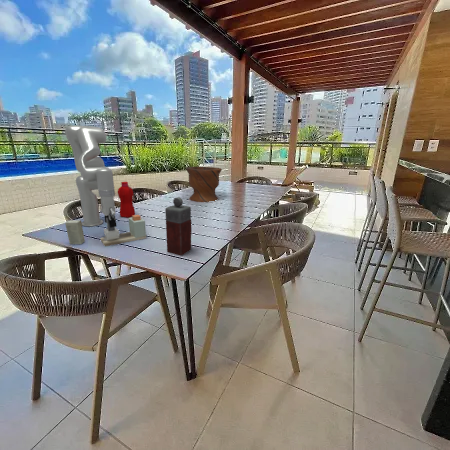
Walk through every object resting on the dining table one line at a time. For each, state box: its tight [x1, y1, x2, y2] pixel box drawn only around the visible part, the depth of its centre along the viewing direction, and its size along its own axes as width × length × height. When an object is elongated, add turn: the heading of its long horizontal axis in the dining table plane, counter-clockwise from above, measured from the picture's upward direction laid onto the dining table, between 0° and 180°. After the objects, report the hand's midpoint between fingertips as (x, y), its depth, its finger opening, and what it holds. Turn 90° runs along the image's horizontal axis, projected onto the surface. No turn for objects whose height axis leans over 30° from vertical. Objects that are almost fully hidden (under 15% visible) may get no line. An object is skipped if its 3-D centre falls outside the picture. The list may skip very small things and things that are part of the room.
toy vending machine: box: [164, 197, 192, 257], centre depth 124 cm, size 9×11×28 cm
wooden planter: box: [185, 166, 223, 203], centre depth 239 cm, size 34×35×29 cm
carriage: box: [103, 217, 120, 240], centre depth 134 cm, size 7×6×12 cm
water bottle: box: [117, 181, 136, 219], centre depth 177 cm, size 9×11×25 cm
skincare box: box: [64, 219, 86, 245], centre depth 131 cm, size 6×4×12 cm
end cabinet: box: [128, 217, 147, 238], centre depth 142 cm, size 10×6×9 cm, turn 37°
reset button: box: [131, 214, 142, 221], centre depth 141 cm, size 4×4×3 cm
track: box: [99, 231, 147, 247], centre depth 139 cm, size 10×22×4 cm, turn 127°
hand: (110, 224), depth 133 cm, fingers open, 9 cm apart
